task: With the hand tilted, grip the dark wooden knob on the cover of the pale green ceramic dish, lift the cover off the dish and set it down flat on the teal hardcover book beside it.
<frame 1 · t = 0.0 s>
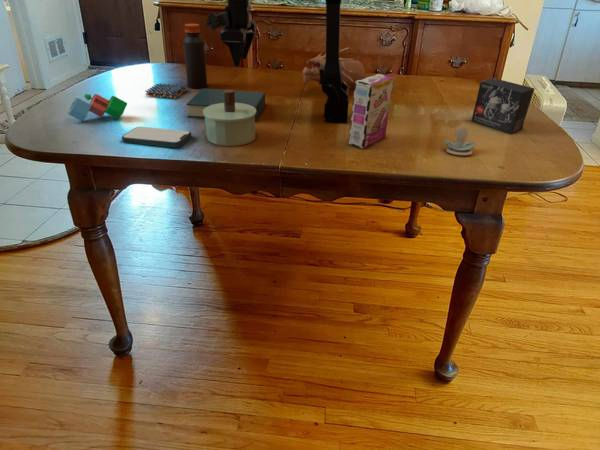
hand: (240, 62, 129), 15 cm above the table, tool pointing down, fingers open, 9 cm apart
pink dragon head: (334, 92, 159), on the table
book: (228, 110, 138), on the table
small box: (496, 125, 134), on the table
dish: (231, 136, 121), on the table
bottle: (197, 86, 160), on the table
pacifier: (458, 152, 116), on the table
cover: (229, 112, 117), point 6 cm above the table, touching dish
candy bar box: (367, 142, 121), on the table
smartphone: (157, 140, 117), on the table
building blocks: (100, 120, 128), on the table
woven mat: (167, 94, 151), on the table
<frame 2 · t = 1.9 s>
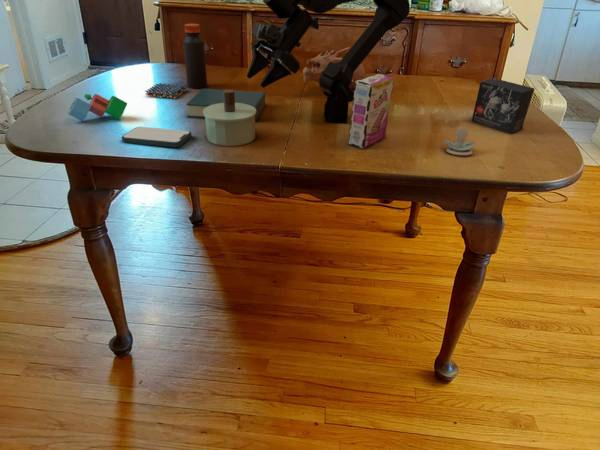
hand: (254, 81, 117), 13 cm above the table, tool tilted 40°, fingers open, 9 cm apart
nothing on the table moved.
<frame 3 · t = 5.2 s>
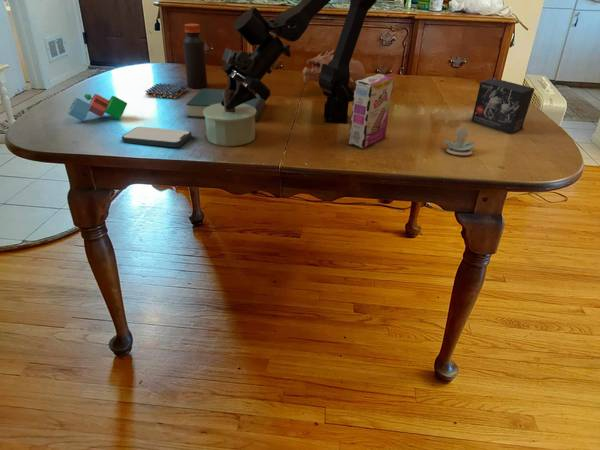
hand: (224, 107, 116), 8 cm above the table, tool tilted 45°, fingers closed on cover, 3 cm apart
cover: (229, 112, 117), point 7 cm above the table, touching dish, gripper
everything else where it was.
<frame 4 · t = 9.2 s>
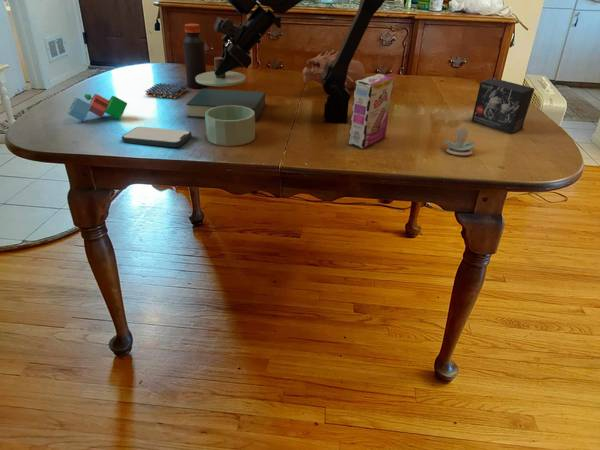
hand: (215, 73, 123), 13 cm above the table, tool tilted 45°, fingers closed on cover, 3 cm apart
cover: (220, 79, 125), point 12 cm above the table, touching gripper
everything else where it was.
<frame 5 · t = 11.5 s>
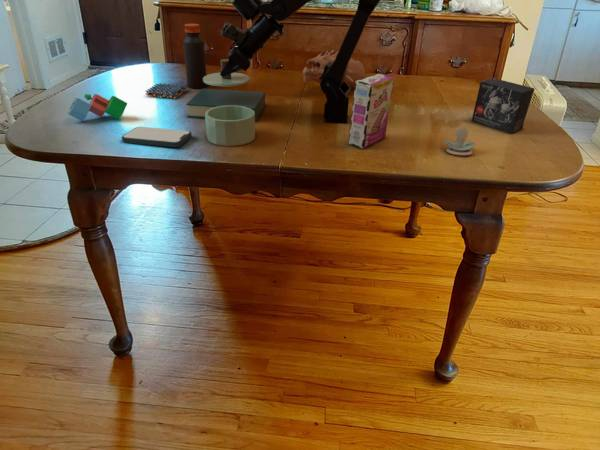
hand: (221, 74, 132), 11 cm above the table, tool tilted 45°, fingers closed on cover, 3 cm apart
cover: (226, 80, 133), point 9 cm above the table, touching gripper
everything else where it was.
when the fingers open (6 cm above the table, at t = 13.1 s): cover stays where it is, resting on book.
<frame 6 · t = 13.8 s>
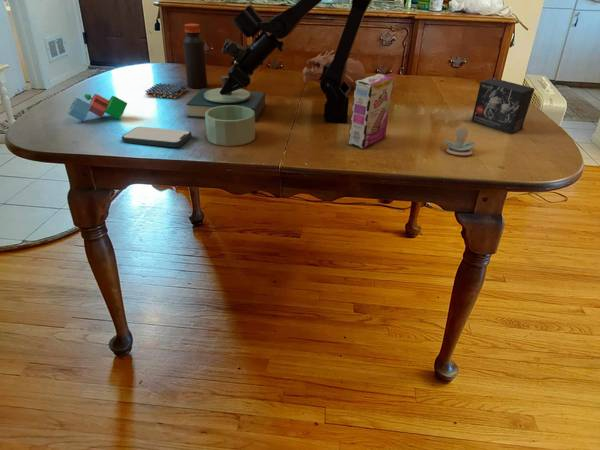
hand: (222, 89, 135), 6 cm above the table, tool tilted 45°, fingers open, 9 cm apart
cover: (227, 95, 136), point 5 cm above the table, touching book
everything else where it was.
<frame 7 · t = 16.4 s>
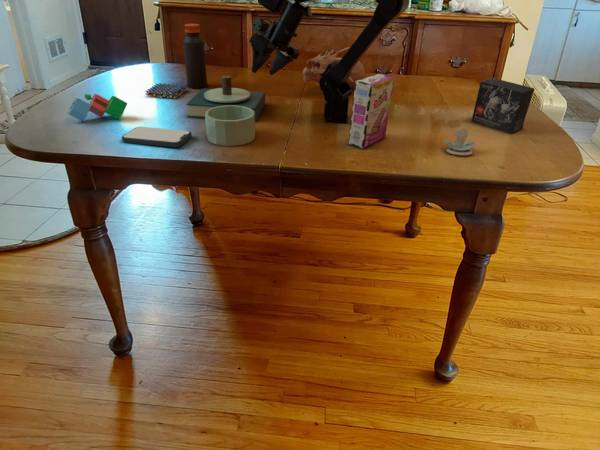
hand: (262, 73, 134), 11 cm above the table, tool tilted 30°, fingers open, 9 cm apart
nothing on the table moved.
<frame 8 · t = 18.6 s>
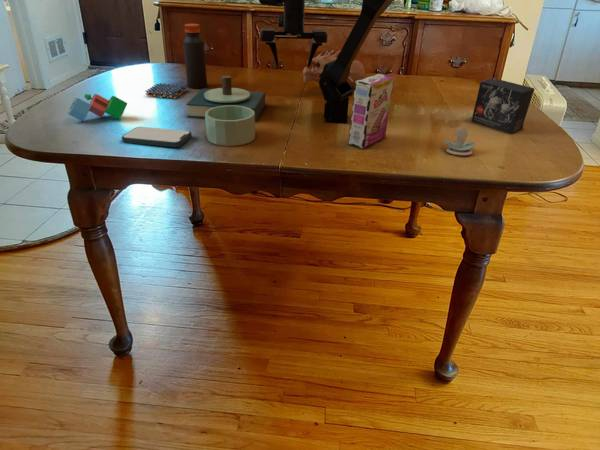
hand: (293, 66, 134), 13 cm above the table, tool pointing down, fingers open, 9 cm apart
nothing on the table moved.
at the end: cover inside the target area on the book (0.0 cm from its centre), point 4.6 cm above the book's base; cover tilted 0°; the gripper is holding nothing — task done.
